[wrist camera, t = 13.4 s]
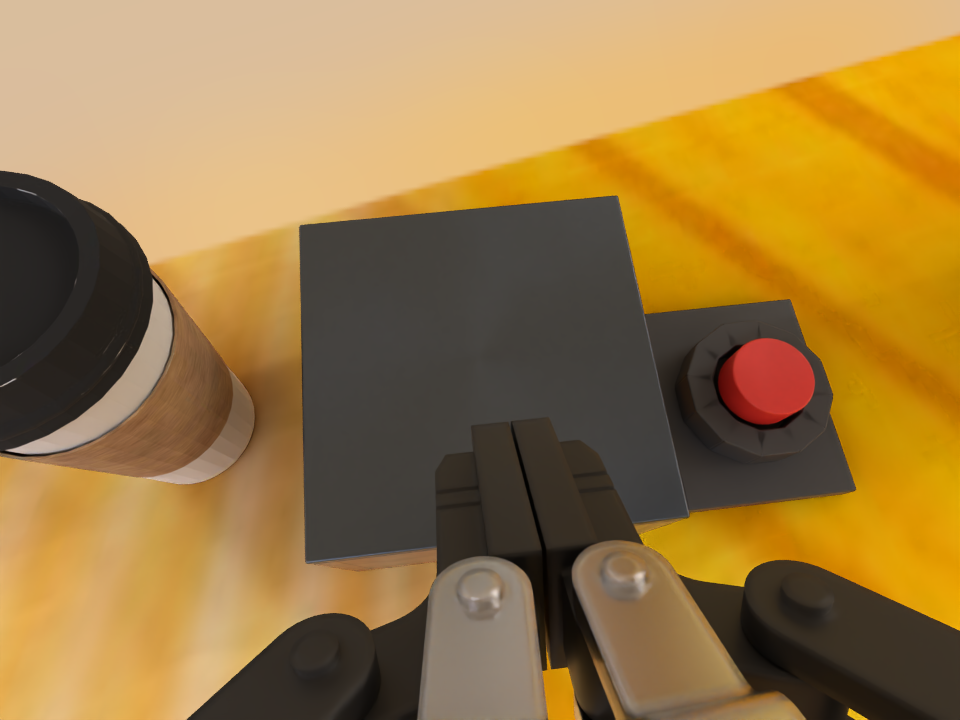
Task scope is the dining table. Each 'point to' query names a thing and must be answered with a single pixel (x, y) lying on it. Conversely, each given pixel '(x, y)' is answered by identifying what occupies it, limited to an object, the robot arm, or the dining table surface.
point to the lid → (469, 361)
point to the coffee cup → (104, 350)
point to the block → (726, 437)
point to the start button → (766, 381)
